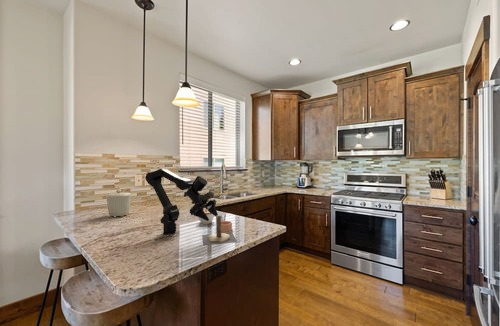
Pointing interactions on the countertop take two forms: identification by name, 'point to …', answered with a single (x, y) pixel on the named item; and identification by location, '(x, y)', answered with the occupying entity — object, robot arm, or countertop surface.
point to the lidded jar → (207, 216)
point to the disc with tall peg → (218, 232)
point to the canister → (118, 203)
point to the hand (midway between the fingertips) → (213, 218)
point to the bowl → (226, 226)
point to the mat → (206, 242)
